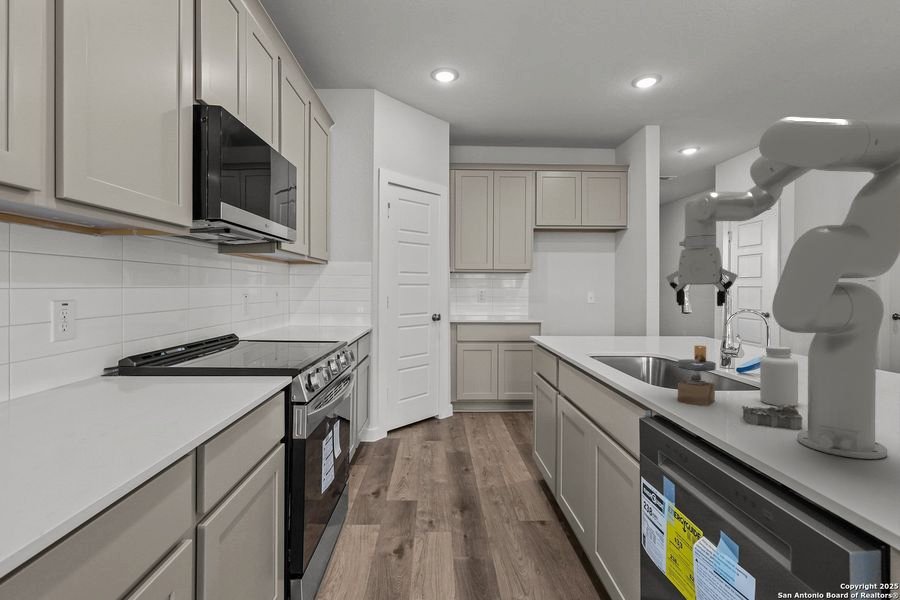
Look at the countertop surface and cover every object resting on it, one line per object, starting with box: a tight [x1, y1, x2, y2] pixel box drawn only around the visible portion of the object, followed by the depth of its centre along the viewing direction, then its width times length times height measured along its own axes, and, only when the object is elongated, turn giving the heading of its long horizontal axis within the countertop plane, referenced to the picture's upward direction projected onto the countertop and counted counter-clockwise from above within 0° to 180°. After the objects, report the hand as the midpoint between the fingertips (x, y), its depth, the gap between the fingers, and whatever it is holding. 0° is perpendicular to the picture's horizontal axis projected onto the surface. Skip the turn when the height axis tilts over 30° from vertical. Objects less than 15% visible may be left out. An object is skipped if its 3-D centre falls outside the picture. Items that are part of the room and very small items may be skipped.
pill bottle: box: [759, 345, 799, 407], centre depth 112 cm, size 8×8×15 cm
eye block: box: [677, 379, 716, 407], centre depth 115 cm, size 7×7×6 cm
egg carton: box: [741, 405, 803, 430], centre depth 96 cm, size 11×8×4 cm
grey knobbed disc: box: [677, 345, 717, 381], centre depth 115 cm, size 10×9×9 cm
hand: (700, 305), depth 117 cm, fingers open, 9 cm apart
